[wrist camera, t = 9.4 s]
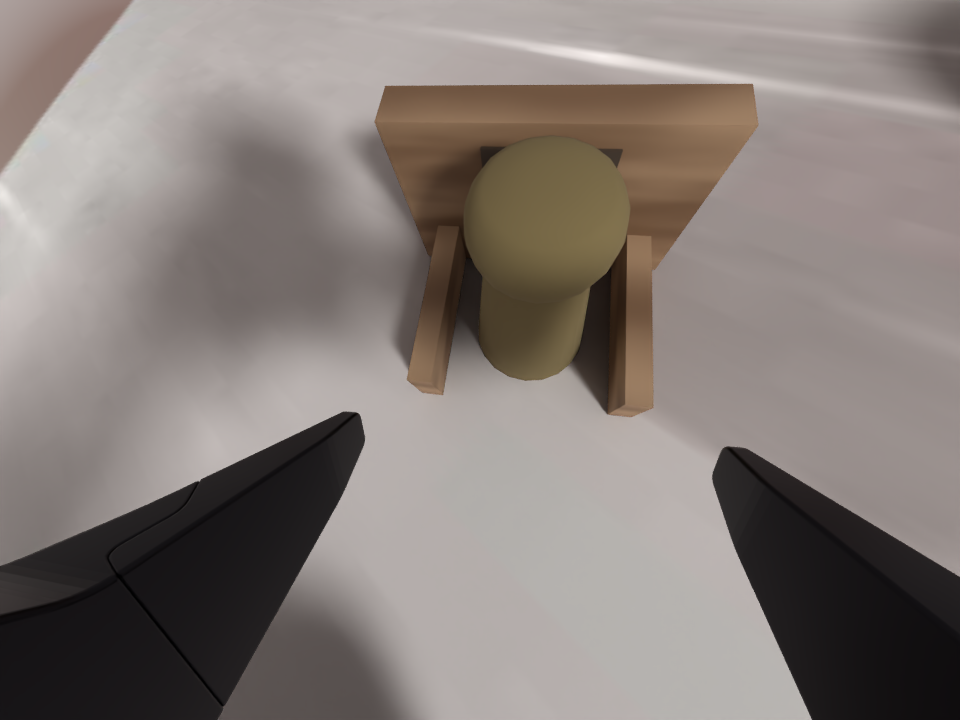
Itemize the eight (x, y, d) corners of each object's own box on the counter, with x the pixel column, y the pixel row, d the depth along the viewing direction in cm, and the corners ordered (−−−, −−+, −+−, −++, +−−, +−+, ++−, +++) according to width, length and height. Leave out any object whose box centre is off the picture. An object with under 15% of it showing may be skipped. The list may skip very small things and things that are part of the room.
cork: (469, 296, 21) (426, 126, 10) (565, 275, 21) (621, 80, 10) (489, 390, 19) (461, 299, 8) (595, 368, 19) (700, 245, 8)
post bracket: (657, 420, 18) (792, 376, 9) (400, 390, 19) (312, 330, 11) (654, 241, 21) (752, 83, 12) (433, 230, 23) (385, 85, 14)
